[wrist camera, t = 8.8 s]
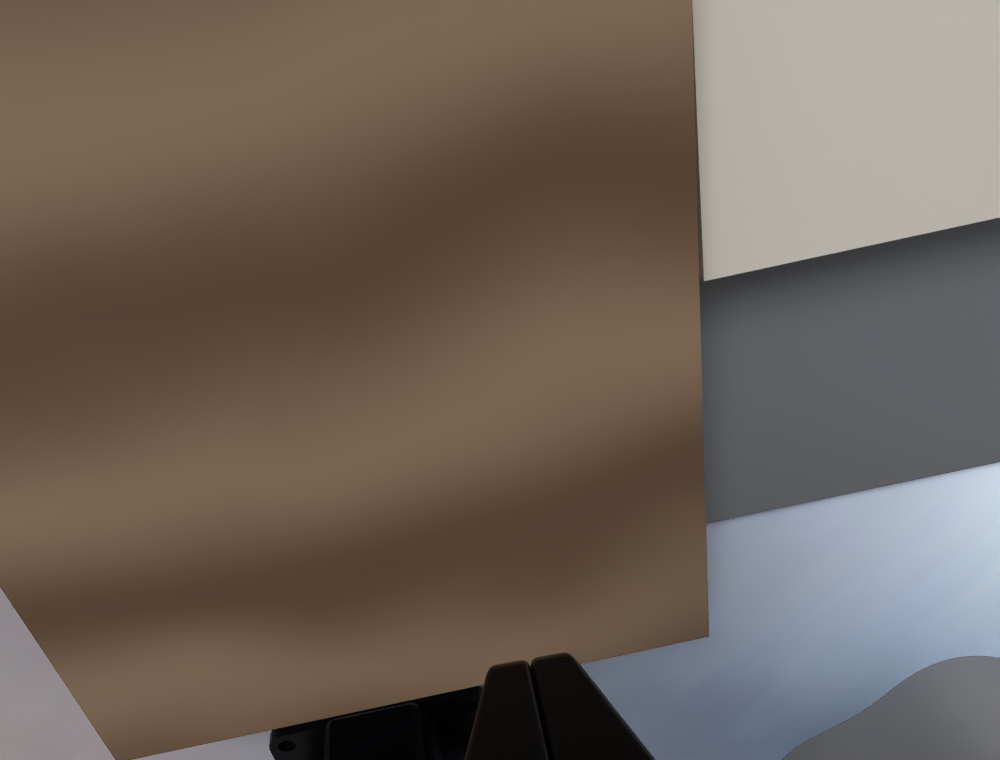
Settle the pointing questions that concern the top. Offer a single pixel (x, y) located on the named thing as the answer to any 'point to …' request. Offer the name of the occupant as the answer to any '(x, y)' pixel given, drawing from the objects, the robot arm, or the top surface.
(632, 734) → the robot arm
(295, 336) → the flat brown block
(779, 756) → the top surface
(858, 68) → the thick cream block
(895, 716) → the lumpy-topped squat cylinder
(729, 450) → the mat
